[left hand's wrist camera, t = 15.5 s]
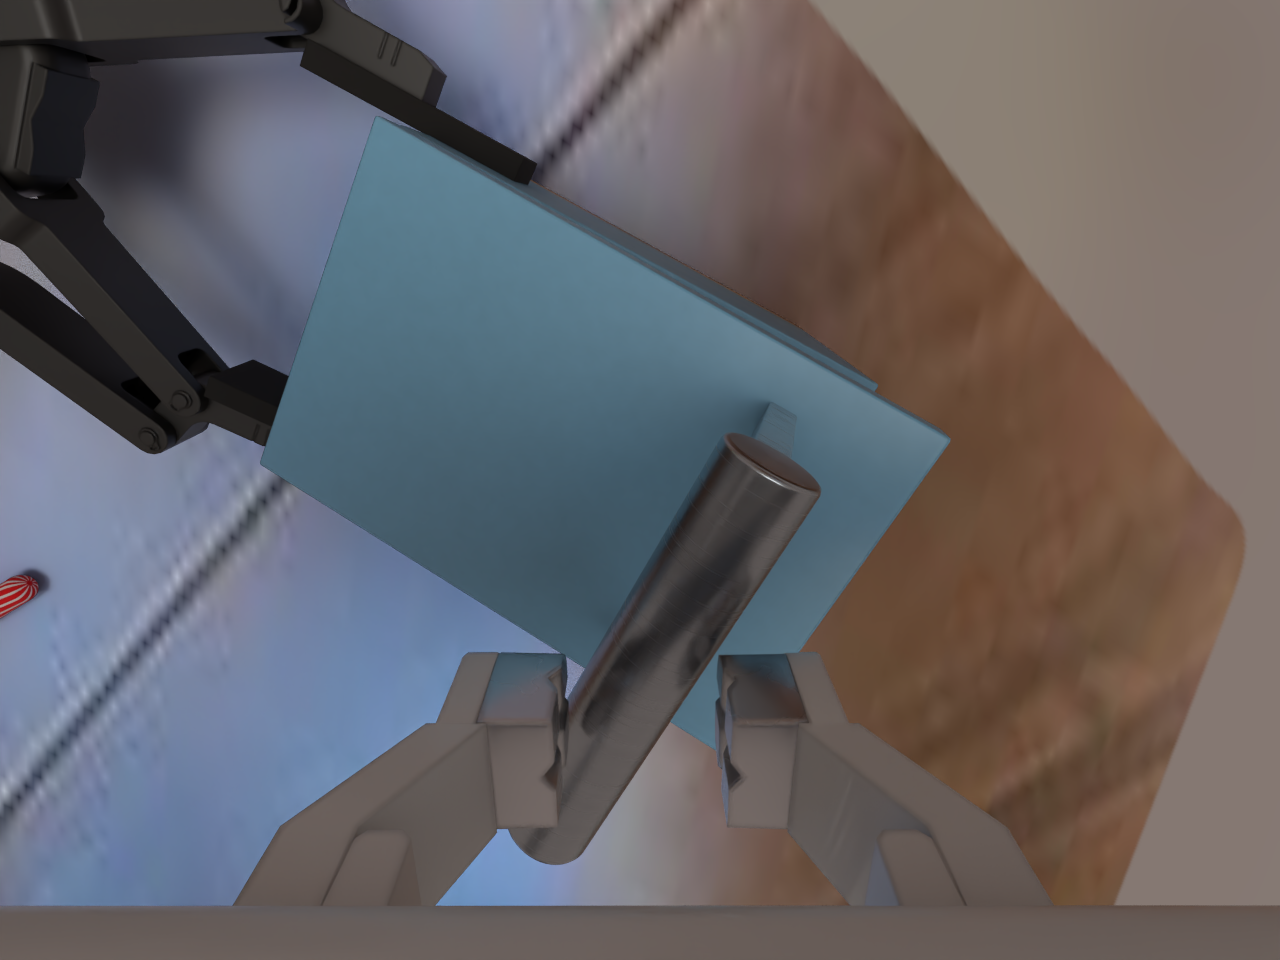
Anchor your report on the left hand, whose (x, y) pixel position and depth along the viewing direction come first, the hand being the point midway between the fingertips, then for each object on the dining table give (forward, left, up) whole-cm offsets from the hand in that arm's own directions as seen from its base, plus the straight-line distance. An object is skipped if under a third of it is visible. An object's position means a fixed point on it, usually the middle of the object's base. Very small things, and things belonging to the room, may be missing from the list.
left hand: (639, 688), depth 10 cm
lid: (-1, +2, -9) cm, 9 cm away
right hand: (-4, +5, -15) cm, 16 cm away
